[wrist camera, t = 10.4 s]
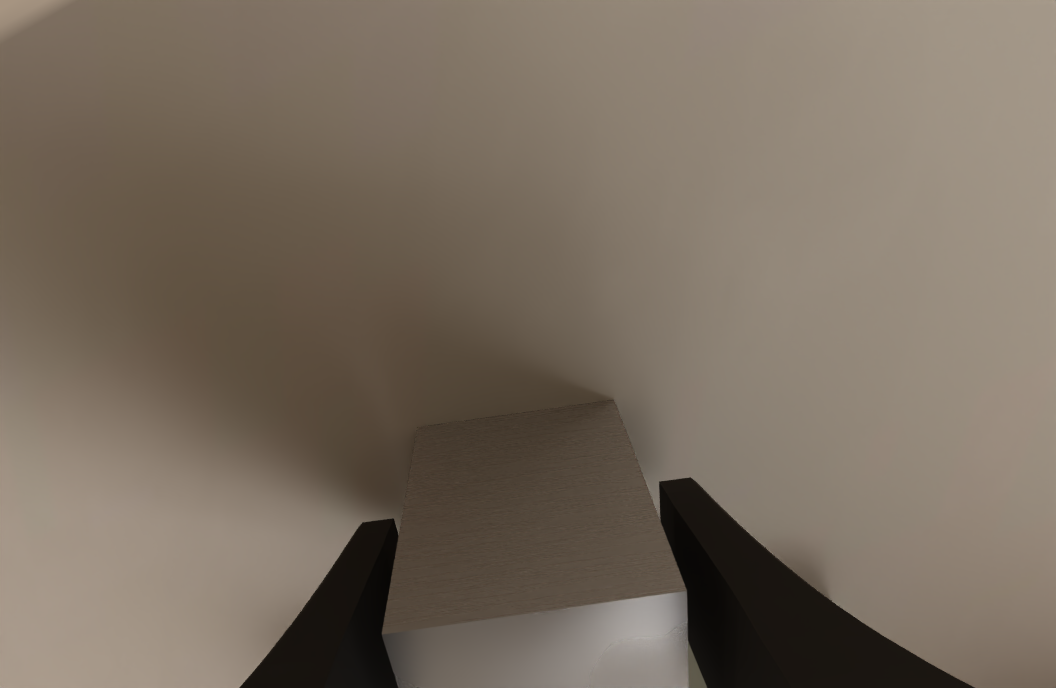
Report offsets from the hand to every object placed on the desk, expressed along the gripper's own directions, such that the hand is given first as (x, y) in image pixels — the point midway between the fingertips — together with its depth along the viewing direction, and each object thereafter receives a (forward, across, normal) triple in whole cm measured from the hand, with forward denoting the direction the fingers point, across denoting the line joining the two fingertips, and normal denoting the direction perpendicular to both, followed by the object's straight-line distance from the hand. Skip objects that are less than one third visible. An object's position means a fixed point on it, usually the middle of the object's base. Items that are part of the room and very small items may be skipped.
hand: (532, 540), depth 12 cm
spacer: (+2, 0, 0) cm, 2 cm away
